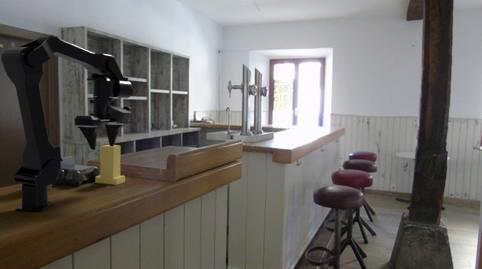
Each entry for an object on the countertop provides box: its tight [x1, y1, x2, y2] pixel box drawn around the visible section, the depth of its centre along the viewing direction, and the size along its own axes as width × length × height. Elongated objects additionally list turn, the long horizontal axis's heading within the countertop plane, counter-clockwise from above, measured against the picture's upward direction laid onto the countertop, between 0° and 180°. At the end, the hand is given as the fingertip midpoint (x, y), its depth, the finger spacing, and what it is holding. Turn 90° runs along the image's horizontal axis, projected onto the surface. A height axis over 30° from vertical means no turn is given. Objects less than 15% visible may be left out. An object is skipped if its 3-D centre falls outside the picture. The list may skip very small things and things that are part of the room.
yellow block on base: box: [94, 144, 126, 186], centre depth 118 cm, size 5×8×12 cm, turn 76°
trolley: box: [55, 155, 100, 187], centre depth 116 cm, size 10×11×8 cm
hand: (102, 147), depth 107 cm, fingers open, 9 cm apart
